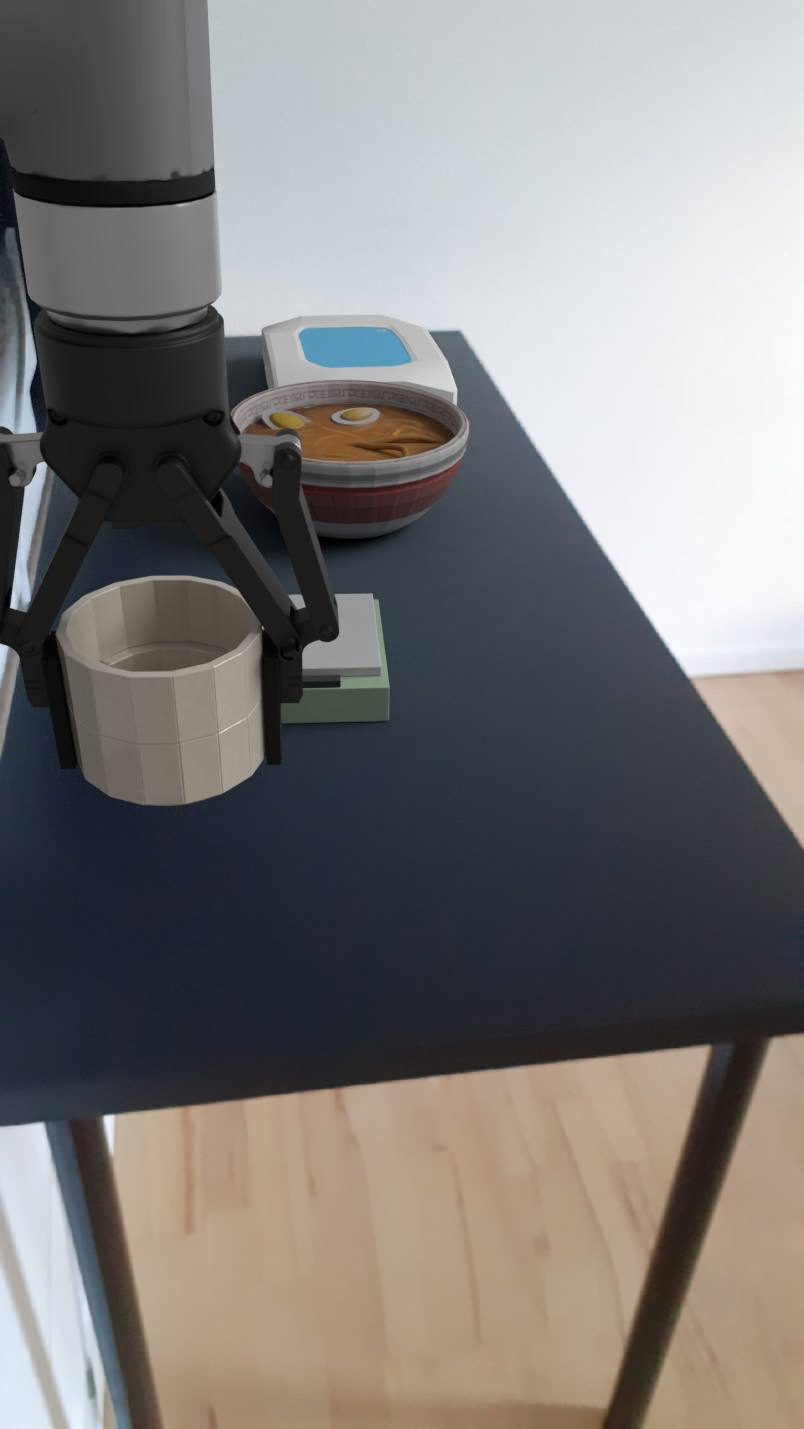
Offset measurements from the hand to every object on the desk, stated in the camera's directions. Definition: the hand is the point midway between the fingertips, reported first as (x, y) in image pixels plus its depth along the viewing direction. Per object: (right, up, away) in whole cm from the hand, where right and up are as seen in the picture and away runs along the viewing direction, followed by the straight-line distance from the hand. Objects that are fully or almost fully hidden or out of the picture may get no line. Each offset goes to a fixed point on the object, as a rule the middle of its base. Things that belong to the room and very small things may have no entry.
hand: (174, 751), depth 56 cm
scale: (+4, +5, +28) cm, 28 cm away
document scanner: (+6, +42, +81) cm, 92 cm away
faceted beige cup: (0, 0, 0) cm, 0 cm away
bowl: (+6, +22, +52) cm, 56 cm away
